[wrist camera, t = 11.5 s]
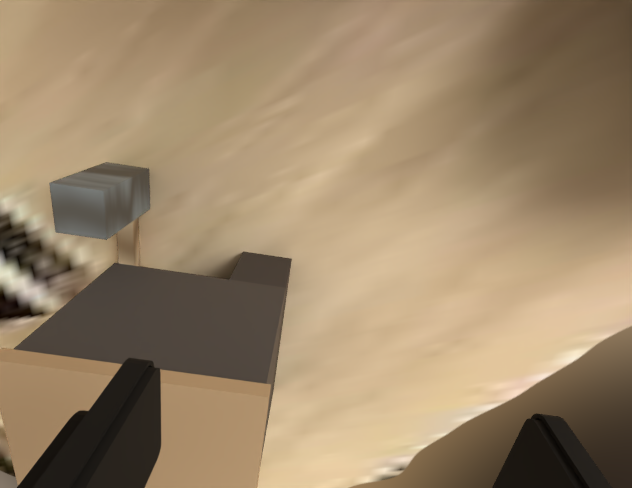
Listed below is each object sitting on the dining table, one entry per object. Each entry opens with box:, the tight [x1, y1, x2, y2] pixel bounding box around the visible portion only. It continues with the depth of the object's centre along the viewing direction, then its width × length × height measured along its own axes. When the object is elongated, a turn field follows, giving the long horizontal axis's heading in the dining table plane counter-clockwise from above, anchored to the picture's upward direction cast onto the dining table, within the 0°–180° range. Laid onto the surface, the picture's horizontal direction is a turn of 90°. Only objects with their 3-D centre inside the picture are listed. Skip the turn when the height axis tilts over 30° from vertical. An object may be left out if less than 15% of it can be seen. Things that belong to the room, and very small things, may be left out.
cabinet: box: [0, 252, 292, 488], centre depth 34 cm, size 19×16×19 cm
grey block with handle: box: [49, 162, 150, 266], centre depth 37 cm, size 23×4×8 cm, turn 172°
